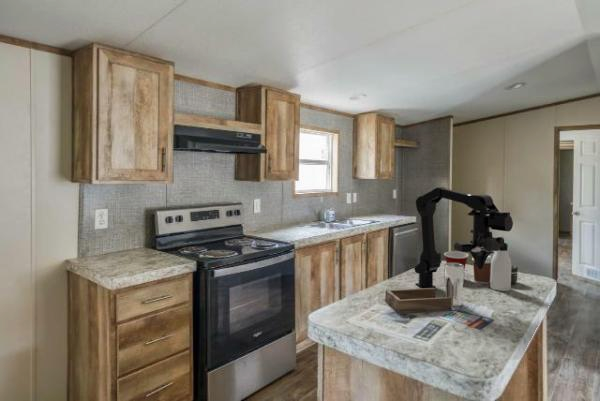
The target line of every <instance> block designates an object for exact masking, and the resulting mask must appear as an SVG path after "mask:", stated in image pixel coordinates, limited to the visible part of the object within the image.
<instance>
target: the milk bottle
mask: <svg viewBox="0 0 600 401" xmlns="http://www.w3.org/2000/svg"><path fill="white" fill-rule="evenodd" d="M504 243H506V244H507V246H508V247H507V251H500V250H498V251H494V253H493V256H491V258H492V261H491V276H490V283H489V284H490V286H489V287H490V288H491V289H492V290H494V291H498V292H499V291H500V292H509V291H511V287H512V285H511V265H512V260H511V256H510V255H509V253H508V249H509V243H508V242H505V241H504Z"/></svg>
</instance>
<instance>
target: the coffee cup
mask: <svg viewBox="0 0 600 401" xmlns="http://www.w3.org/2000/svg"><path fill="white" fill-rule="evenodd" d="M471 261H472V264H473V265H472V267H473V281H474V283H477V284H485V285H487V284H490V276H491V261H492V256H491V255H489V256H488V257H487V259H486V261H485V263H484V265H483V268H482V269H478V268H477V265H476V263H475V261H474V259H473V257H472V258H471Z"/></svg>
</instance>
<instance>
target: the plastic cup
mask: <svg viewBox="0 0 600 401" xmlns="http://www.w3.org/2000/svg"><path fill="white" fill-rule="evenodd" d="M443 255H444V258H445V261H446V263H459V264H463V265H464V270H466V263H467V260H468V258H469V257H470V256H469V255H470V254H469V253H468V252H461V251H458V250H455V251H454V250H452V251H446V252H444V253H443Z"/></svg>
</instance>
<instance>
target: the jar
mask: <svg viewBox="0 0 600 401" xmlns="http://www.w3.org/2000/svg"><path fill="white" fill-rule="evenodd" d="M518 274H519V270H518V266H517V265H514V264H511V286H512V285H515V284H517V282H518Z"/></svg>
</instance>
